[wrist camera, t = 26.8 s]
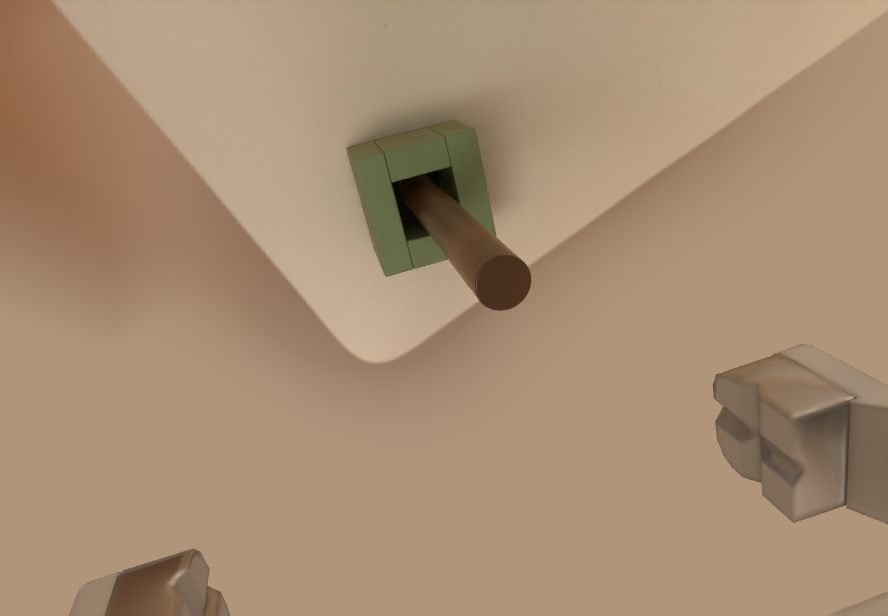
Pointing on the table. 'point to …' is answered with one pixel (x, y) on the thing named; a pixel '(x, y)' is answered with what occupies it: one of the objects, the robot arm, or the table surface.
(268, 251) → the table surface
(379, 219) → the holder
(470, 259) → the stick
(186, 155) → the table surface
